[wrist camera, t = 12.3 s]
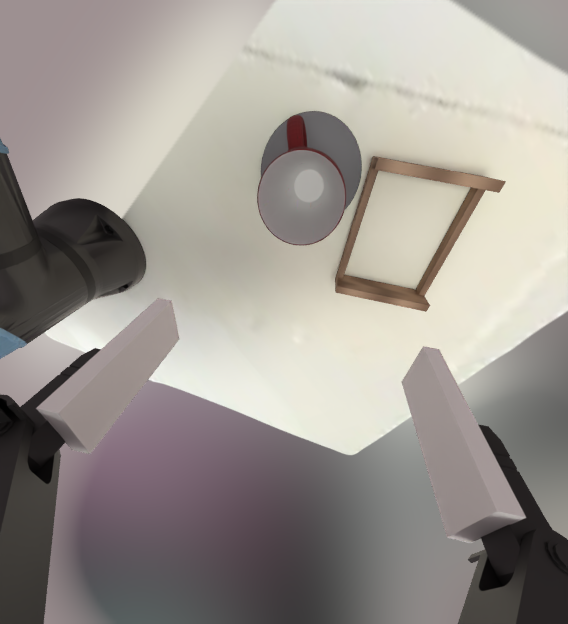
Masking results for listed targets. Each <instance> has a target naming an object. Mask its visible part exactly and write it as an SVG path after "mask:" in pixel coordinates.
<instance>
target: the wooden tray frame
mask: <svg viewBox="0 0 568 624" xmlns="http://www.w3.org/2000/svg"><path fill="white" fill-rule="evenodd" d="M378 170H380V171H386V172H391V173H397V174H402V175H407V176H413V177H418V178H423V179H429V180H434V181H440V182H445V183H450V184H456V185H461V186H466V187H471V189H470V191H469V193H468V195H467V196H466V198H465V200H464V202H463V204H462V206H461V208H460V209H459V211H458V213H457V215H456V217H455V219H454V220H453V222H452V224H451V226H450V228H449V230H448V231H447V233H446V235H445V237H444V239H443V241H442V242H441V244H440V246H439V248H438V250H437V252H436V253H435V255H434V257H433V259H432V261H431V263H430V264H429V266H428V268H427V270H426V272H425V274H424V275H423V277H422V279H421V281H420V283H419V285H418V286H417V288H416V290H414V289H410V288H405V287H400V286H395V285H390V284H386V283H381V282H376V281H371V280H366V279H361V278H357V277H352V276H347V275H344V273H345V270H346V267H347V264H348V261H349V258H350V255H351V252H352V249H353V246H354V243H355V240H356V237H357V234H358V231H359V228H360V224H361V221H362V218H363V215H364V212H365V209H366V206H367V203H368V200H369V197H370V194H371V191H372V188H373V185H374V182H375V179H376V176H377V173H378ZM505 182H506V181H501V180H497V179H492V178H488V177H483V176H478V175H472V174H467V173H461V172H456V171H450V170H445V169H440V168H434V167H429V166H423V165H418V164H412V163H407V162H401V161H396V160H391V159H385V158H380V157H374V156H373V158H372V161H371V164H370V168H369V171H368V174H367V178H366V181H365V184H364V187H363V191H362V194H361V197H360V200H359V204H358V207H357V210H356V213H355V217H354V220H353V223H352V226H351V230H350V233H349V236H348V239H347V243H346V246H345V249H344V252H343V256H342V259H341V262H340V265H339V269H338V272H337V275H336V278H335V291H336V293H341V294H346V295H350V296H355V297H360V298H365V299H369V300H374V301H379V302H384V303H388V304H393V305H398V306H402V307H407V308H412V309H417V310H421V311H427V310H428V308H429V306H430V305H429V303H428V302H427V300H426V298H425V297H424V296H425V294H426V292H427V290H428V289H429V287H430V285H431V284H432V282H433V280H434V278H435V277H436V275H437V273H438V271H439V270H440V268H441V266H442V265H443V263H444V261H445V259H446V258H447V256H448V254H449V252H450V251H451V249H452V247H453V246H454V244H455V242H456V240H457V239H458V237H459V235H460V233H461V232H462V230H463V228H464V227H465V225H466V223H467V221H468V220H469V218H470V216H471V214H472V213H473V211H474V209H475V208H476V206H477V204H478V202H479V201H480V199H481V197H482V195H483V194H484V192H485V190H488V191H493V192H500V190H501V189H502V187H503V185H504V184H505Z"/></svg>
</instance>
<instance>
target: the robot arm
mask: <svg viewBox="0 0 568 624" xmlns="http://www.w3.org/2000/svg"><path fill="white" fill-rule="evenodd" d="M7 153H9V151H8V148H7V147H6V146H5V145H4V144H3V143H2V141H1V139H0V359H1V358H3V357H4V356H6V355H8V354H10V353H11V352H13V351H15V350H16V349H18V348H22V347H24V346H25V345H27V344H28V343H29V342H31V341H32V340H33V339H35V338H37V337H38V336H39V335H41V334H42V333H44V332H45V331H47V330H48V329H50V328H51V327H53V326H54V325H56V324H57V323H59V322H60V321H61V320H63V319H64V318H66V317H67V316H69V315H70V314H72V313H73V312H75V311H76V310H78V309H79V308H81V307H82V306H83V305H85V304H86V303H88V302H90V301H91V300H93V299H97V298H101V297H105V296H109V295H113V294H117V293H121V292H124V291H126V290H128V289H130V288H131V287H133V286H134V285H135V284H137V283H138V282H139V281H140V280H141V279H142V277H143V275H144V272H145V257H144V253H143V250H142V247H141V245H140V243H139V241H138V239H137V237H136V236H135V234H134V233H133V231H132V230H131V229H130V227H129V226H128V225H127V224H126V223H125V222H124V221H123V220H122V219H121V218H120V217H119V216H118V215H116V214H115V213H114V212H113V211H111V210H110V209H108V208H107V207H105V206H103V205H101V204H99V203H97V202H94V201H91V200H87V199H80V198H78V199H71V200H66V201H62V202H58V203H56V204H54V205H52V206H50V207H49V208H48V209H47V210H45V211H44V212H43V213H41V214H40V215H39V216H38V217H36V218H35V219H34V220H33V221H32V218H31V216H30V213H29V210H28V208H27V205H26V203H25V200H24V198H23V195H22V192H21V189H20V187H19V184H18V182H17V179H16V176H15V174H14V171H13V169H12V166H11V164H10V161H9V158H8V156H7ZM178 340H179V335H178V330H177V325H176V320H175V315H174V310H173V305H172V301H170V300H165V299H159V298H158V299H157V300H156V301H155V302H153V303H152V304H151V305H150V306H149V307H148V308H147V309H146V310H145V311H143V312H142V313H141V314H140V315H139V316H138V317H137V318H136V319H135V320H133V321H132V322H131V323H130V324H129V325H128V326H127V327H126V328H125V329H123V330H122V331H121V332H120V333H119V334H118V335H117V336H116V337H115V338H113V339H112V340H111V341H110V342H109V343H108V344H107V345H106V346H105V347H103V348H102V349H96V348H95V349H93V350H91V351H89V352H87V353H85V354H83V355H81V356H80V357H79V358H78V359H77V360H75V361H74V362H73V363H72V364H71V365H70V367H67V368H66V369H65V370H64V371H62V372H61V374H60V375H58V376H57V377H55V378H54V379H53V380H52V381H51V382H49V384H47V385H46V386H45V387H44V388H43V389H41V390H40V391H39V392H38V393H37V394H35V395H34V396H33V397H32V398H31V399H30V400H28V401H27V402H26V403H25V404H24V405H22V406H21V407H19V406H18V404H17V403H16V402H15V401H14V400H13V399H12V398H11V397H9V396H8V395H0V624H43V623H44V614H45V613H44V612H45V604H46V594H47V584H48V575H49V574H48V573H49V564H50V555H51V545H52V535H53V525H54V516H55V506H56V495H57V486H58V477H59V466H60V457H61V455H60V450H59V449H60V448H61V446H62V445H63V444H64V443H66V444H67V445H68V446H69V447H70V448H71V449H72V450H75V451H79V452H83V453H88V454H91V453H92V451H93V450H94V448H96V446H97V445H98V444H99V442H100V441H101V440H102V438H103V437H104V436H105V435H106V433H107V432H108V431H109V429H110V428H111V427H112V426H113V424H114V423H115V422H116V420H117V419H118V418H119V417H120V415H121V414H122V413H123V411H124V410H125V409H126V407H127V406H128V405H129V404H130V402H131V401H132V400H133V398H134V397H135V396H136V395H137V393H138V392H139V391H140V389H141V388H142V387H143V385H144V384H145V383H146V382H147V380H148V379H149V378H150V376H151V375H152V374H153V373H154V371H155V370H156V369H157V367H158V366H159V365H160V363H161V362H162V361H163V360H164V358H165V357H166V356H167V354H168V353H169V352H170V351H171V349H172V348H173V347H174V345H175V344H176V343H177V342H178ZM402 385H403V388H404V392H405V395H406V398H407V402H408V405H409V409H410V412H411V415H412V419H413V422H414V426H415V429H416V433H417V436H418V439H419V443H420V446H421V449H422V453H423V456H424V460H425V463H426V467H427V470H428V474H429V477H430V480H431V484H432V487H433V491H434V494H435V498H436V501H437V504H438V508H439V511H440V514H441V518H442V521H443V525H444V528H445V532H446V535H447V537H448V538H451V539H455V540H460V541H465V542H468V543H471V542H474V541H476V540H478V539H480V538H481V539H482V542H483V545H484V547H485V550H482V551H480V552H478V553H475V554H472V555H471V556H470V557H469V559H468V560H469V561H470V562H471V563H473V562H476V561H478V560H479V561H478V564H477V567H476V570H475V573H474V576H473V579H472V582H471V585H470V588H469V591H468V594H467V597H466V600H465V604H464V607H463V610H462V613H461V616H460V619H459V622H458V624H568V540H567V539H566V538H565V537H563V536H562V535H560V534H558V533H557V532H555V531H554V530H552V528H551V527H550V525H549V524H548V522H547V520H546V519H545V517H544V515H543V514H542V512H541V510H540V508H539V506H538V505H537V503H536V501H535V499H534V498H533V496H532V494H531V492H530V491H529V489H528V487H527V485H526V484H525V482H524V480H523V478H522V476H521V475H520V473H519V472H517V468H516V466H515V464H514V462H513V461H512V459H510V457H509V456H510V455H509V454H508V452H507V450H506V449H505V447H504V445H503V443H502V441H501V440H500V439H499V438H498V437H497V436H496V434H495V433H494V432H493V431H492V430H491V429H490V428H489V427H488V426H483V425H478V424H477V422H476V420H475V418H474V416H473V414H472V412H471V410H470V408H469V406H468V404H467V402H466V401H465V399H464V397H463V395H462V393H461V391H460V389H459V387H458V385H457V383H456V381H455V379H454V377H453V375H452V373H451V372H450V370H449V368H448V366H447V364H446V362H445V360H444V358H443V356H442V354H441V352H440V350H439V349H434V348H429V347H423V348H422V349H421V351H420V352H419V354H418V356H417V357H416V359H415V361H414V362H413V364H412V366H411V367H410V369H409V371H408V372H407V374H406V376H405V377H404V379H403V381H402Z"/></svg>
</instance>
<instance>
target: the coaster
mask: <svg viewBox="0 0 568 624" xmlns="http://www.w3.org/2000/svg"><path fill="white" fill-rule="evenodd" d="M297 115H300V116H302V117H303V119H304V123H305V127H306V135H307V147H309V148H313V149H316V150H319V151H321V152H323V153H325V154H327V155H328V156H329V157H330V158H331V159H333V161H334V162H335V163H336V164H337V166H338V167H339V169H340V171H341V173H342V175H343V178H344V182H345V187H346V205H345V209H346V208H347V207H348V205H349V204H350V203H351V201H352V199H353V198H354V196H355V194H356V191H357V189H358V186H359V182H360V178H361V155H360V150H359V147H358V144H357V141H356V139H355V137H354V136H353V134H352V132H351V131H350V130H349V128H348V127H347V126H346V125H345V124H344V123H343V122H342V121H341V120H339V119H338V118H336V117H334V116H332V115H330V114H327V113H324V112H317V111H310V112H304V113H300V114H297ZM287 121H288V120H286V121H285V122H284V123H282V124H281V125H280V126H279V127H278V128H277V129H276V130H275V132H274V133H273V134H272V136H271V137H270V139H269V141H268V143H267V145H266V148H265V150H264V154H263V158H262V164H261V177H262V175H263V173H264V171H265V170H266V168H267V167H268V165H269V164H270V163H271V162H272V161H273V160H274V159H275V158H277V157H278V156H279V155H281V154H283V153H285V152H287V151H288V142H287ZM345 209H344V210H345Z"/></svg>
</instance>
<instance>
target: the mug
mask: <svg viewBox="0 0 568 624" xmlns="http://www.w3.org/2000/svg"><path fill="white" fill-rule="evenodd" d="M287 142H288V151H287V152H285V153H283V154H281V155H279V156H278V157H277V158H275V159H274V160H273V161H272V162H271V163H270V164H269V165H268V167H267V168H266V170H265V171H264V173H263V175H262V177H261V180H260V183H259V187H258V195H257V202H258V208H259V212H260V215H261V218H262V220H263V222H264V224H265V225H266V227H267V228H268V230H269V231H270V232H271V233H272V234H273V235H274V236H276V237H277V238H278V239H280V240H282V241H284V242H286V243H289V244H293V245H310V244H313V243H316V242H319V241H321V240H323V239H324V238H326V237H327V236H328V235H329V234H330V233H331V232H332V231H333V230H334V229H335V228H336V227H337V225H338V224H339V222H340V220H341V218H342V216H343V213H344V209H345V205H346V187H345V182H344V178H343V175H342V173H341V171H340V169H339V167H338V166H337V164H336V163H335V162H334V161H333V159H331V158H330V157H329V156H328V155H327V154H325V153H323V152H321V151H319V150H316V149H313V148H309V147H307V135H306V127H305V123H304V119H303V117H302V116H300V115H294V116H292V117H290V118H289V119H288V121H287Z"/></svg>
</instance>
